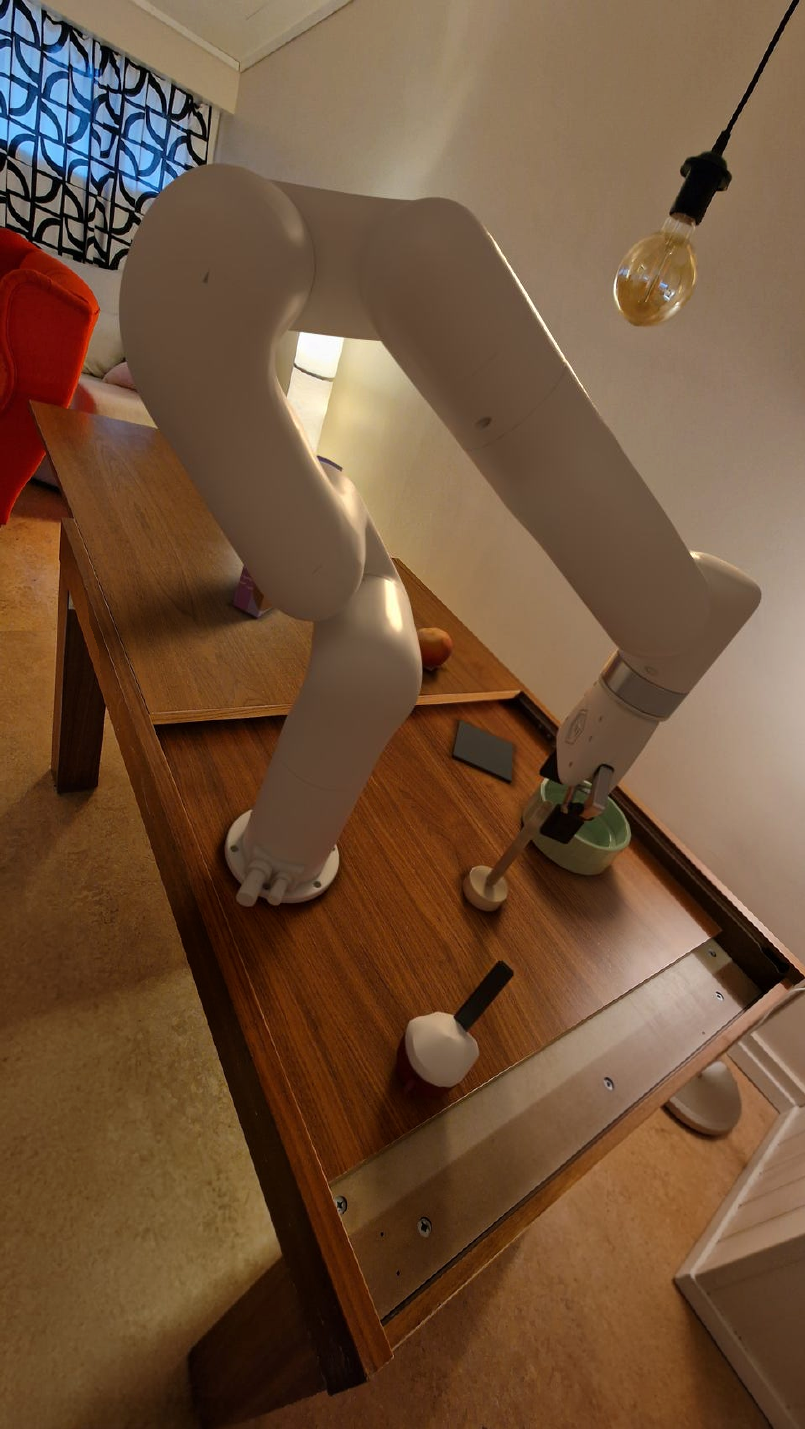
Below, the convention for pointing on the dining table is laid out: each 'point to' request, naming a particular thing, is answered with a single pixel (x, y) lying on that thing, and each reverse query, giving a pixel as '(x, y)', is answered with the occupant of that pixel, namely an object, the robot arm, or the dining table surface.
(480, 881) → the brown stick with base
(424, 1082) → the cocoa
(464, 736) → the mat
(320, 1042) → the dining table surface
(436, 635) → the fruit
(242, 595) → the cereal box
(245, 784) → the dining table surface
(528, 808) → the bowl
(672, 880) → the dining table surface
